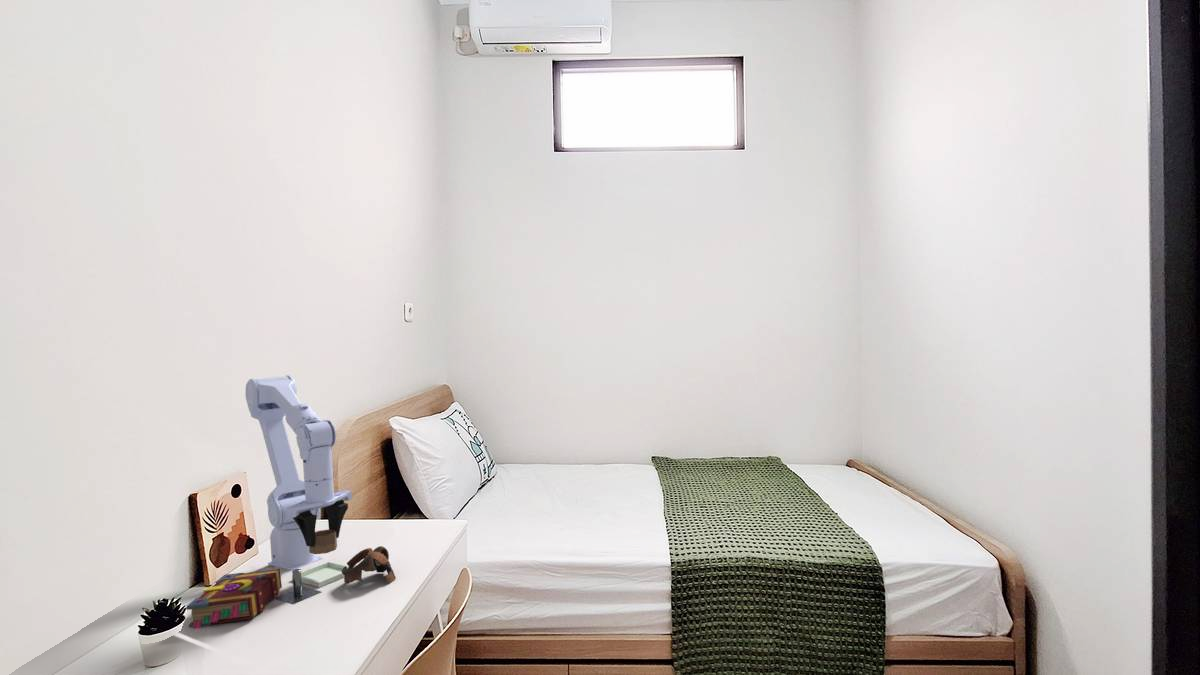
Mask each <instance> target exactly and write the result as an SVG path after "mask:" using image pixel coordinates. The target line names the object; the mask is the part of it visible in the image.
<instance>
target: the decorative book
mask: <svg viewBox="0 0 1200 675" xmlns="http://www.w3.org/2000/svg"><path fill="white" fill-rule="evenodd" d="M282 587H283V586H282V576H281V569H280V568H276V569H268V570H261V571H259V570H258V571H252V572H245V573H244V572H238V573H237V572H235V573H228V574H227V573H226V574H224V575H222V576H221V577H220V578H218V580H216V581H215V584H213V585H212V586H208V587H207V588H205V589H204V590H203V593H202V594H201V595H200V596H199V597H196V598H194V600H192V601H191V602H190V603H188V604H187V605H186V610H187V611H188V610H191V616H192V620H191V622H190V623H189V624H188V628H189V629H193V630H194V629H201V627H210V626H212V625H214V624H215V625H216V624H223V623H231V622H238V621H245V620H252V619H253V618H254V617H255V616H257V614H261V613H262V612H263V611H264V610H265V609H266V608H265V607H266V605H267V604H268V603H269V602H270V601H271V600H272V599H274V598H276V597H278V596H279V591H280V590H281V589H282Z"/></svg>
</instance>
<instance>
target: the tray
mask: <svg viewBox="0 0 1200 675" xmlns="http://www.w3.org/2000/svg"><path fill="white" fill-rule="evenodd" d="M345 566H346V567H347V569H348V568H349V566H348V565H347V564H344V563H340V562H336V561H331V560H329V561H326V562H323V563H321V564H318V565H315V566H313V567H310V568H308V569H304V570H303V571H302V570H301V577H302V584H303V585H304V584H306V585H307V586H308V585H309V586H313V587H315V588H322V587H325V586H327V585H330V584H332V583H335V582H336V581H337V582H338V581H339V580H342V579H344V577H345V576H344V575H343V574H342V569H343V568H344V567H345ZM291 577H292V578H291V580H292V581H293V575H292V574H291Z"/></svg>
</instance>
